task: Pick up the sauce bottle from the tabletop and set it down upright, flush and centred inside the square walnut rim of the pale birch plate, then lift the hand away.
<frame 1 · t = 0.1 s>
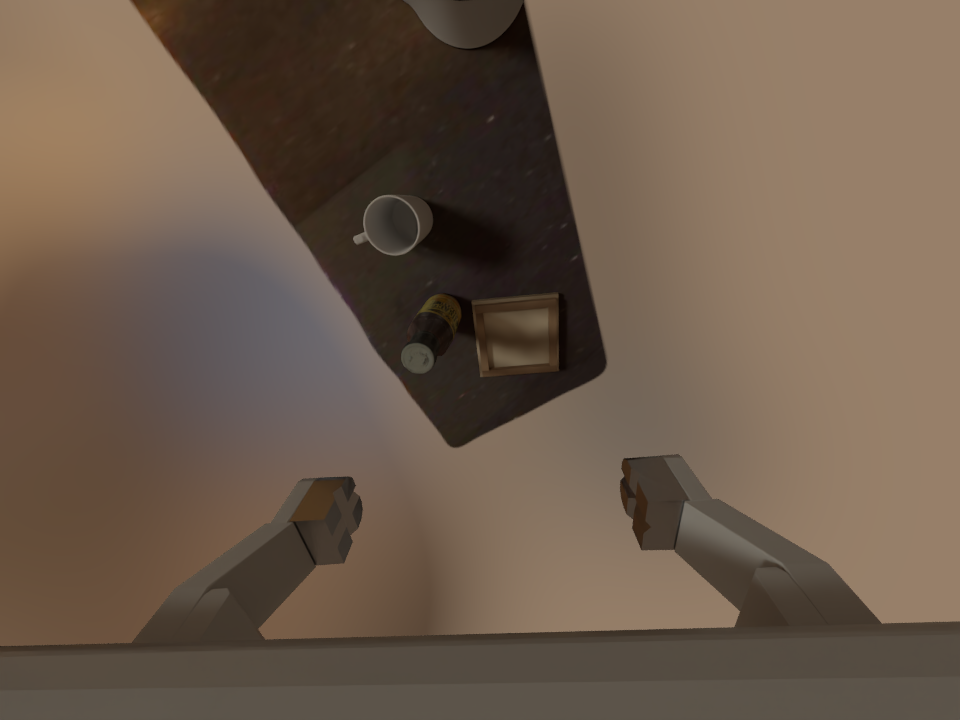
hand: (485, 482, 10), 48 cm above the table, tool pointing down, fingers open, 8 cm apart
sauce bottle: (443, 308, 58), on the table
seat plate: (516, 335, 60), on the table
mug: (403, 222, 52), on the table
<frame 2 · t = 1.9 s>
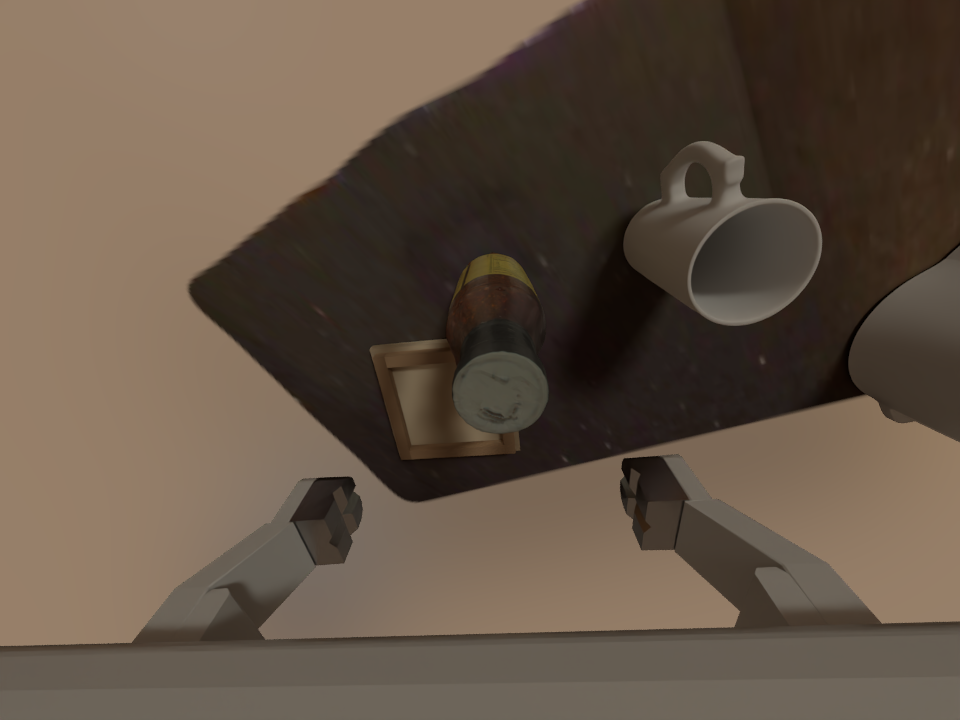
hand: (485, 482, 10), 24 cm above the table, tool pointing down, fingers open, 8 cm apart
sauce bottle: (495, 283, 32), on the table
seat plate: (450, 398, 38), on the table
mug: (656, 218, 29), on the table
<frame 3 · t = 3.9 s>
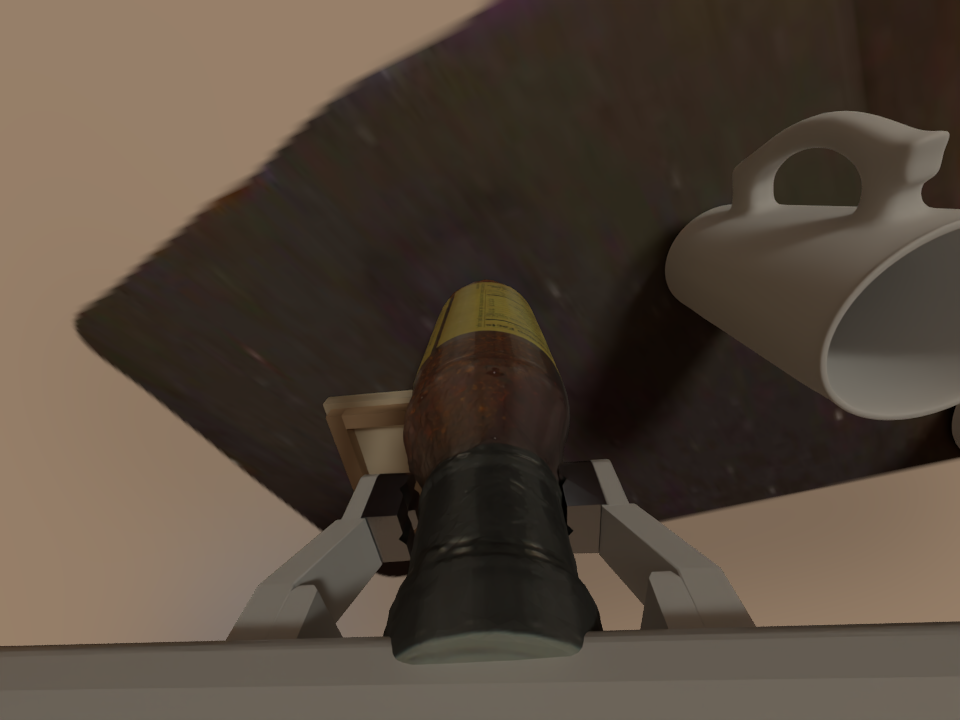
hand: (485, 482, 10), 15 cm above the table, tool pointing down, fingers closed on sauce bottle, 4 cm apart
sauce bottle: (488, 318, 24), on the table, touching gripper
seat plate: (433, 460, 29), on the table
mug: (712, 232, 21), on the table
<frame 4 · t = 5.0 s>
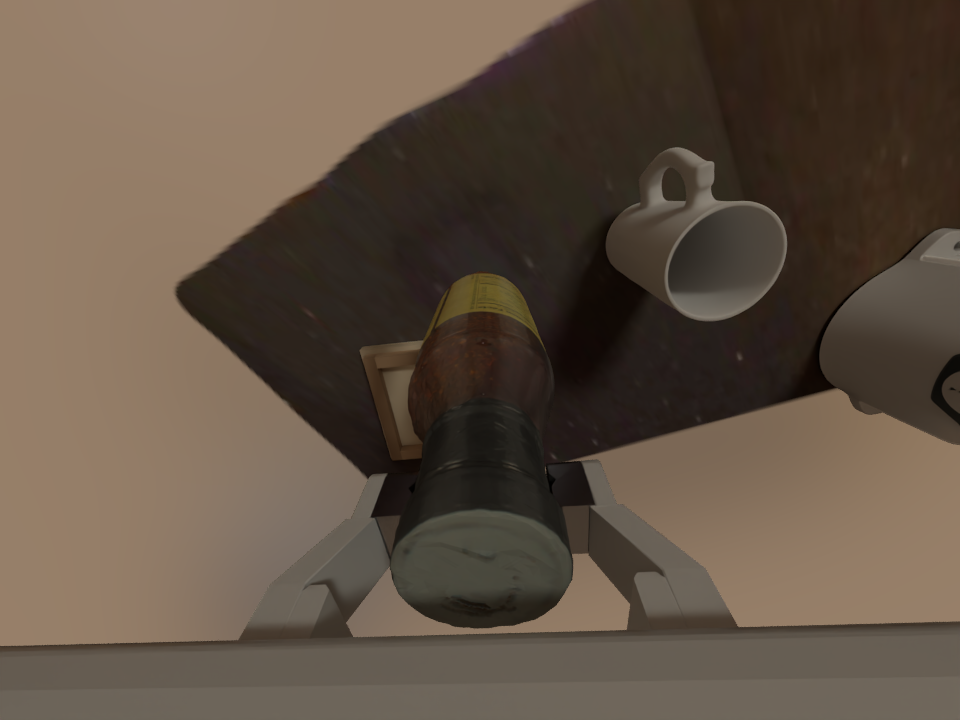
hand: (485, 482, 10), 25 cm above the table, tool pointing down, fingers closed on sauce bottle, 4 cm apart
sauce bottle: (485, 308, 25), point 8 cm above the table, touching gripper
seat plate: (440, 398, 38), on the table
mug: (636, 221, 30), on the table
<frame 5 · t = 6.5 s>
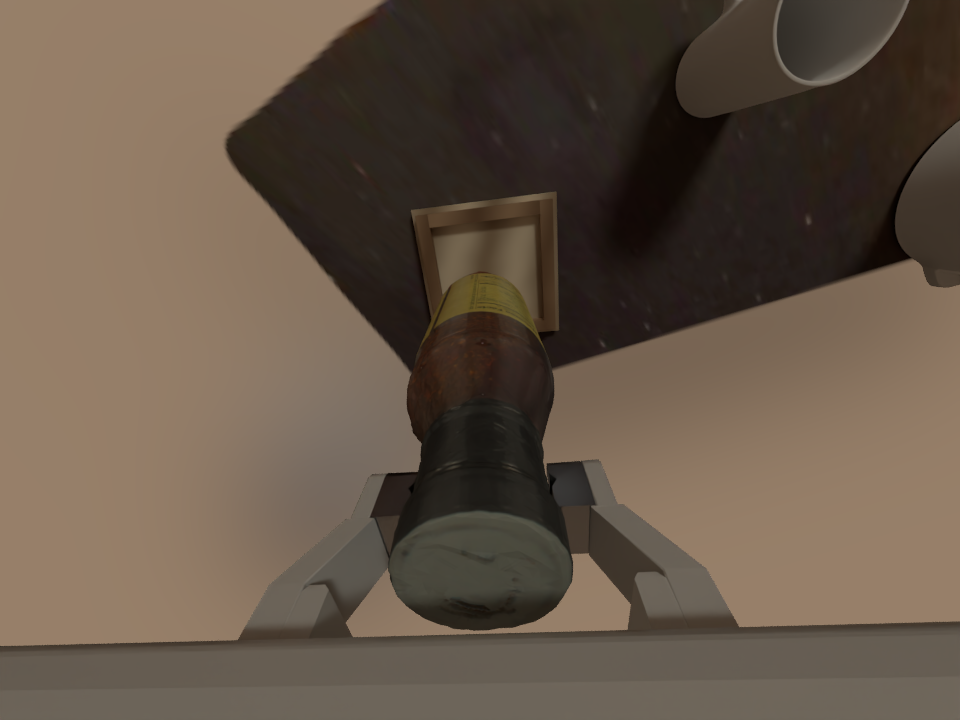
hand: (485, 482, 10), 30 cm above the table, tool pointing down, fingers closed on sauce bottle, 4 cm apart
sauce bottle: (484, 308, 25), point 13 cm above the table, touching gripper
seat plate: (490, 272, 37), on the table
mug: (710, 51, 29), on the table
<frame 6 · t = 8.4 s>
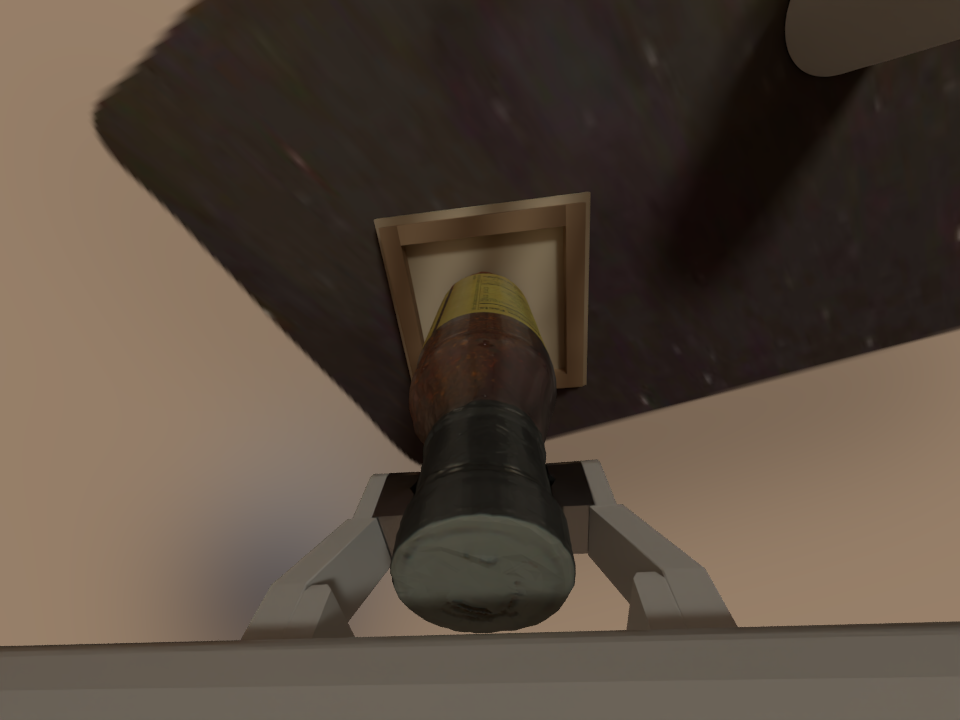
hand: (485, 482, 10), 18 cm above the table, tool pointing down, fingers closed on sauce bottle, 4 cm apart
sauce bottle: (486, 308, 25), point 1 cm above the table, touching gripper, seat plate
seat plate: (490, 306, 26), on the table
when the fingers open (18 cm above the table, at t = 8.4 s): sauce bottle stays where it is, resting on seat plate.
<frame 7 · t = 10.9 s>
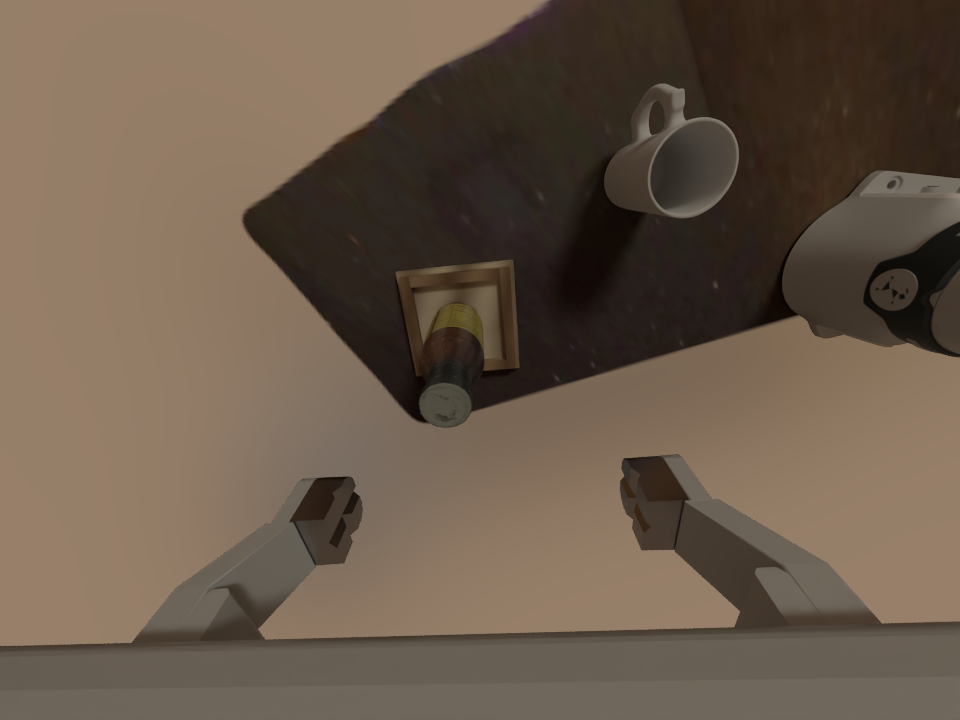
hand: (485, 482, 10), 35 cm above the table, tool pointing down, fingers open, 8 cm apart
sauce bottle: (459, 321, 44), point 1 cm above the table, touching seat plate
seat plate: (461, 320, 45), on the table
mug: (629, 160, 37), on the table
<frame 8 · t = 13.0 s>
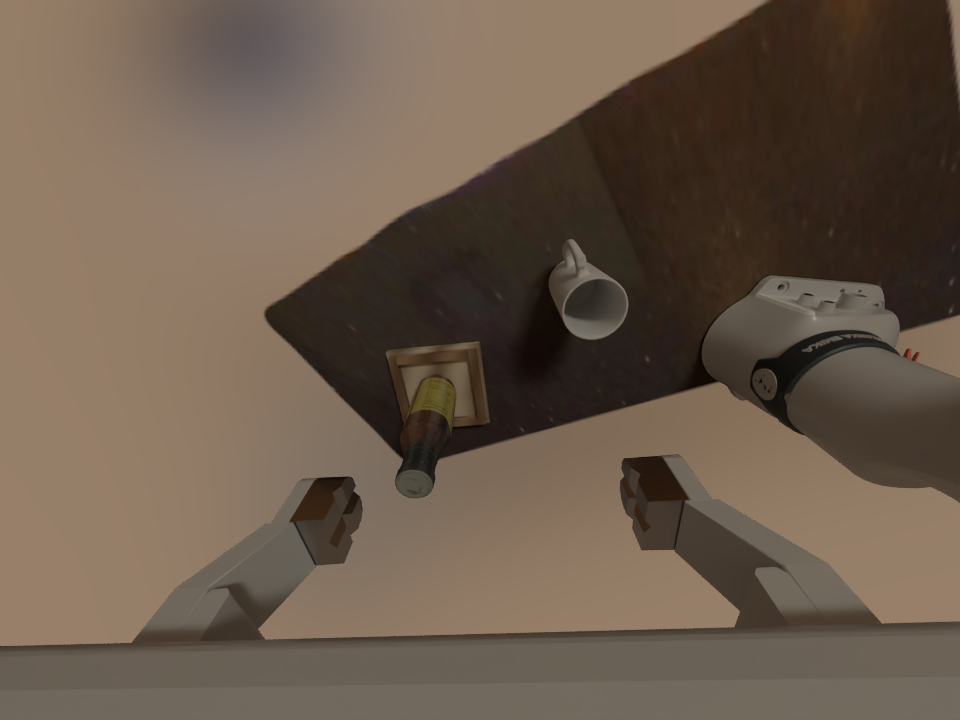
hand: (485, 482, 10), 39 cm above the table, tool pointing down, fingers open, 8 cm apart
sauce bottle: (438, 388, 54), point 1 cm above the table, touching seat plate
seat plate: (440, 386, 55), on the table
mug: (568, 269, 46), on the table
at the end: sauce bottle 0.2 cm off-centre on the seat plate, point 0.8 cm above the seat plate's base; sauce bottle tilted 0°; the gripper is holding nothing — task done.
